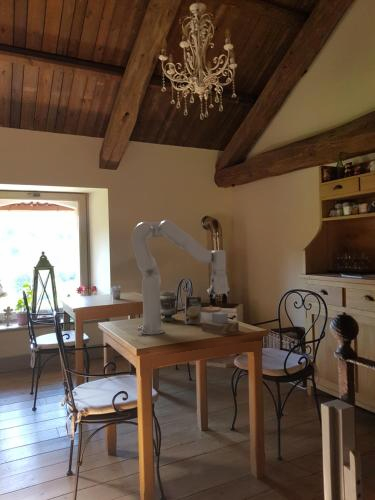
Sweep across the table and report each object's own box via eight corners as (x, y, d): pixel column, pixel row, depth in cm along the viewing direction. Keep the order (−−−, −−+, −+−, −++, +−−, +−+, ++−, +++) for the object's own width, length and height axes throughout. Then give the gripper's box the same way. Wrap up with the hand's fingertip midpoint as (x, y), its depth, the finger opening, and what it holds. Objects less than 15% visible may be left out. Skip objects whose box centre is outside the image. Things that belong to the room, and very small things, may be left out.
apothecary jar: (162, 318, 250) (162, 290, 250) (180, 318, 246) (179, 290, 246) (155, 321, 238) (154, 292, 238) (173, 322, 235) (173, 292, 235)
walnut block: (220, 335, 199) (220, 326, 199) (202, 331, 209) (201, 322, 209) (238, 331, 208) (238, 322, 208) (220, 327, 219) (220, 319, 218)
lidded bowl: (209, 327, 219) (208, 307, 218) (196, 323, 229) (195, 305, 229) (226, 324, 226) (225, 305, 226) (212, 321, 236) (212, 303, 236)
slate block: (220, 324, 204) (220, 314, 204) (212, 322, 209) (212, 313, 209) (227, 322, 209) (227, 313, 209) (219, 320, 213) (219, 311, 213)
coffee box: (185, 324, 226) (185, 297, 226) (184, 322, 233) (184, 295, 233) (200, 324, 227) (201, 297, 227) (199, 322, 234) (200, 295, 233)
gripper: (213, 274, 200) (213, 307, 200) (234, 272, 212) (234, 303, 212) (202, 273, 205) (202, 305, 205) (223, 271, 217) (223, 302, 217)
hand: (218, 304), depth 209 cm, fingers open, 9 cm apart
